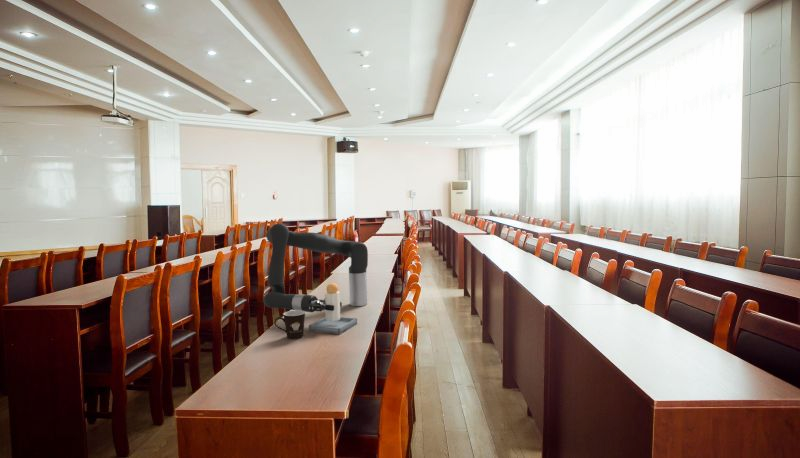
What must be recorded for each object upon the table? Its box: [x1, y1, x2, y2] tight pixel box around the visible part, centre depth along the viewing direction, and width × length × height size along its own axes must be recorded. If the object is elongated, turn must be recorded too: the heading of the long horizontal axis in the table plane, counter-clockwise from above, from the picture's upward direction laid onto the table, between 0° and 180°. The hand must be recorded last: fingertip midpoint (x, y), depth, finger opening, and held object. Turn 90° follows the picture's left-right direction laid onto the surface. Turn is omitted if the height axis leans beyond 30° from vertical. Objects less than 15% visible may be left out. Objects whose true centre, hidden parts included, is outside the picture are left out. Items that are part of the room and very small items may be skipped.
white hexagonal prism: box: [324, 290, 341, 321], centre depth 193 cm, size 6×6×12 cm
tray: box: [308, 316, 358, 335], centre depth 193 cm, size 16×15×2 cm
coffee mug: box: [274, 310, 306, 340], centre depth 181 cm, size 12×9×10 cm
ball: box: [326, 282, 339, 293], centre depth 192 cm, size 5×5×5 cm
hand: (337, 306), depth 192 cm, fingers closed on white hexagonal prism, 6 cm apart
